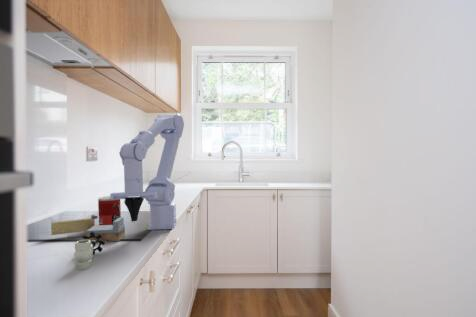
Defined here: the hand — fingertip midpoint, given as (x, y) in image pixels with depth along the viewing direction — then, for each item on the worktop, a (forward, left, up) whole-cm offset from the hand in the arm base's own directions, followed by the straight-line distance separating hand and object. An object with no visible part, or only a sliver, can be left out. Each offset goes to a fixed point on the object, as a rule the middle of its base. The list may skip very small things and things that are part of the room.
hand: (134, 220), depth 100 cm
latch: (+21, -6, -4) cm, 23 cm away
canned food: (+14, -18, -6) cm, 24 cm away
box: (+9, -1, -6) cm, 11 cm away
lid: (+9, -1, -3) cm, 10 cm away
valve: (+7, +20, -6) cm, 22 cm away
